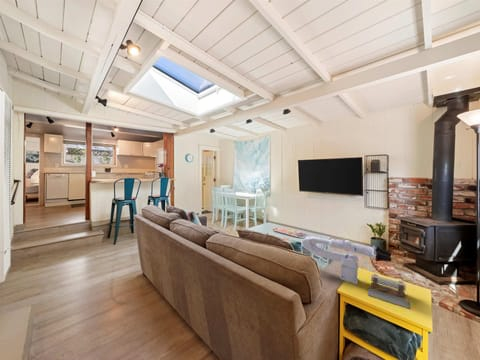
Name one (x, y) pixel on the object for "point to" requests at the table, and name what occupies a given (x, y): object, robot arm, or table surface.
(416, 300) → the table surface
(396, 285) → the rail
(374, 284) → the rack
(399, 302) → the mat
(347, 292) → the table surface
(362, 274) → the table surface
